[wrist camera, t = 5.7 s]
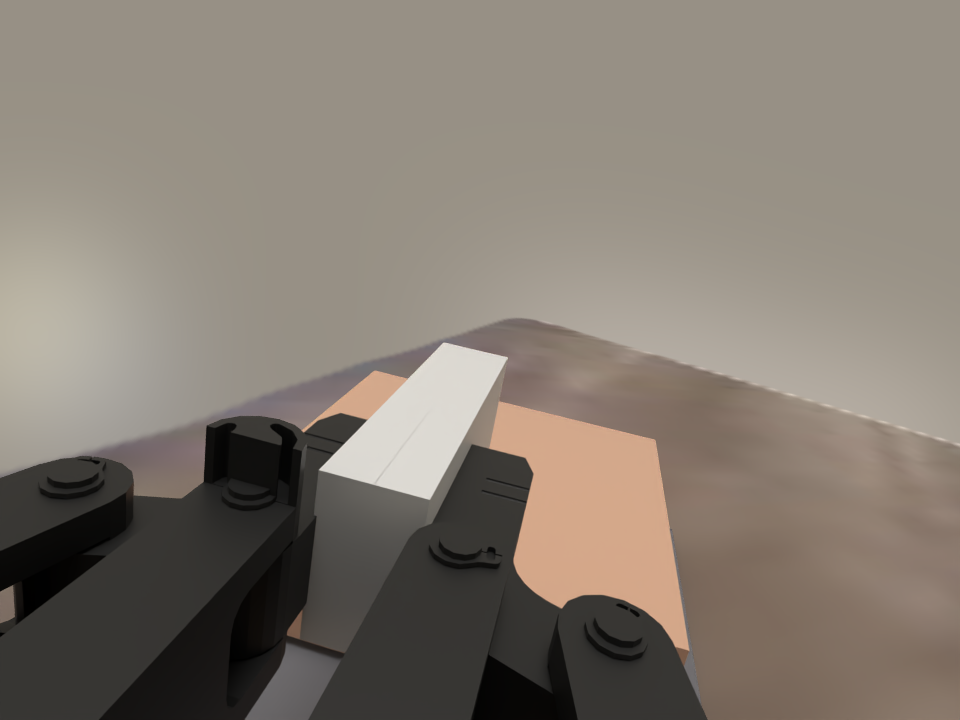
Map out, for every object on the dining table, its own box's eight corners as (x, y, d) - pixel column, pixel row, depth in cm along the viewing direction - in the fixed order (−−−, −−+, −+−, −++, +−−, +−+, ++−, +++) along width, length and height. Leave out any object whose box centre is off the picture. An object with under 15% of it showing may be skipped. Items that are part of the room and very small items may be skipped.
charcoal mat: (668, 539, 26) (671, 528, 26) (747, 1051, 11) (756, 1032, 11) (325, 447, 28) (326, 437, 28) (-14, 769, 13) (-16, 750, 13)
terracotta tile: (650, 759, 15) (634, 510, 26) (689, 651, 14) (655, 439, 25) (198, 617, 17) (365, 439, 28) (204, 510, 16) (374, 370, 27)
